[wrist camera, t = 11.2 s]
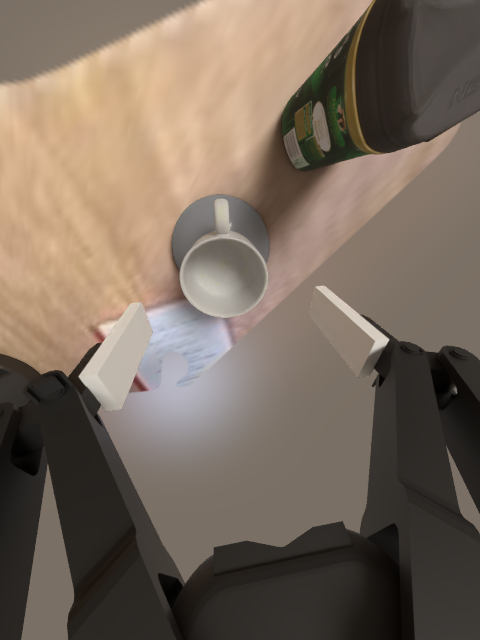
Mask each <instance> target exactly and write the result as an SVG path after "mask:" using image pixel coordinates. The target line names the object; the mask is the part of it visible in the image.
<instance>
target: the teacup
mask: <svg viewBox="0 0 480 640" xmlns="http://www.w3.org/2000/svg"><path fill="white" fill-rule="evenodd" d="M214 217H215V229H216V230H215V231H213V232H210V233H208V234H205V235H204V236H202V237H201V238H200V239H199V240H197V241H196V243H195V244H194V245H193V246H192V248H191V249H190V250H189V251H188V252H187V254H186V255H185V257H184V259H183V261H182V264H181V268H180V285H181V288H182V291H183V293H184V295H185V297H186V298H187V300H188V301H189V302H190V303H191V304H192V305H193V306H194V307H195V308H196V309H198V310H199V311H201V312H203V313H205V314H207V315H210V316H214V317H219V318H232V317H237V316H240V315H243V314H245V313H247V312H248V311H250V310H251V309H253V308H254V307H255V306H256V305H257V304H258V303H259V302H260V301H261V299H262V298H263V296H264V294H265V291H266V289H267V284H268V271H267V266H266V263H265V260H264V259H263V257H262V256H261V254H260V253H259V252H258V250H257V249H256V248H255V246H254V245H253V244H252V243H251V242H250V241H249V240H248V239H247V238H246V237H244V236H243V235H241V234H239V233H237V232H233V231H229V205H228V201H227V200H226V199H216V200H215V201H214Z"/></svg>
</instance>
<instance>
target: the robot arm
mask: <svg viewBox="0 0 480 640" xmlns="http://www.w3.org/2000/svg"><path fill="white" fill-rule="evenodd" d="M309 316H310V318H311V319H312V320H313V321H314V323H315V324H316V325H317V327H318V328H319V329H320V330H321V332H322V333H323V334H324V335H325V337H326V338H327V339H328V340H329V342H330V343H331V344H332V345H333V347H334V348H335V349H336V351H337V352H338V353H339V354H340V356H341V357H342V358H343V359H344V360H345V362H346V363H347V364H348V366H349V367H350V368H351V369H352V371H353V372H354V373H355V374H356V376H357V377H364V376H370V375H371V373H372V371H373V370H374V369H375V370H376V371H377V372H378V373H379V374H378V375H377V377H376V379H375V381H374V383H373V385H372V387H374V386H375V385H376V390H375V403H374V417H373V430H372V443H371V456H370V469H369V484H368V497H367V505H366V509H365V512H364V515H363V517H362V521H361V527H360V534H359V533H357V532H354V531H351V530H348V529H346V528H345V526H344V524H343V521H341V522H336V523H331V524H327V525H321V526H317V527H312V528H311V529H310V530H308V531H307V532H305V533H304V534H302V535H301V536H299V537H298V538H296V539H295V540H294V541H292V542H291V543H289V544H288V545H286V546H285V547H276V546H271V545H266V544H260V543H256V542H250V541H243V542H239V543H233V544H229V545H224V546H219V547H214V554H213V555H212V556H210V557H209V558H208V559H206V561H204V562H203V563H202V564H201V565H200V566H199V567H198V568H197V569H196V570H195V572H194V573H193V574H192V575H191V576H190V578H189V580H188V581H187V582H186V584H185V582H184V580H183V579H182V576H181V574H180V572H179V570H178V568H177V567H176V565H175V563H174V561H173V559H172V558H171V556H170V555H169V553H168V552H167V551H166V549H165V547H164V546H163V544H162V542H161V540H160V538H159V536H158V534H157V532H156V530H155V528H154V526H153V524H152V522H151V520H150V517H149V515H148V514H147V512H146V509H145V507H144V505H143V504H142V501H141V499H140V497H139V495H138V493H137V491H136V489H135V487H134V485H133V483H132V481H131V479H130V477H129V475H128V473H127V471H126V469H125V467H124V465H123V462H122V460H121V458H120V457H119V454H118V452H117V450H116V448H115V446H114V444H113V442H112V440H111V438H110V436H109V434H108V432H107V430H106V428H105V426H104V424H103V422H102V420H101V418H100V416H99V415H98V414H97V412H98V410H99V408H100V406H102V407H103V409H104V410H105V411H106V412H108V411H116V410H121V409H122V407H123V404H124V402H125V399H126V397H127V395H128V392H129V390H130V387H131V385H132V382H133V380H134V377H135V375H136V373H137V370H138V368H139V365H140V363H141V360H142V358H143V355H144V353H145V350H146V348H147V346H148V343H149V341H150V338H151V336H152V333H153V331H152V328H151V326H150V323H149V320H148V318H147V315H146V312H145V310H144V307H143V304H142V302H139V303H131V304H130V305H129V306H128V308H127V309H126V311H125V312H124V313H123V315H122V316H121V318H120V319H119V320H118V322H117V323H116V325H115V326H114V327H113V329H112V330H111V332H110V333H109V334H108V336H107V337H106V339H105V340H104V342H103V343H97V344H96V345H95V346H93V347H92V348H91V349H89V351H88V352H87V353H86V355H85V356H84V358H82V360H81V361H80V363H79V364H78V365H77V366H76V368H75V369H74V370H73V372H72V373H71V374H70V375H69V377H67V376H66V375H65V374H64V373H63V372H62V371H59V370H55V371H49V372H47V373H44V374H42V375H40V374H39V373H38V372H37V371H36V370H34V369H33V368H32V367H30V366H28V365H27V364H25V363H23V362H21V361H19V360H16V359H14V358H11V357H8V356H5V355H1V354H0V640H21V637H22V630H23V623H24V617H25V610H26V603H27V597H28V590H29V584H30V576H31V569H32V564H33V557H34V550H35V544H36V537H37V530H38V523H39V517H40V510H41V504H42V498H43V491H44V483H45V478H46V471H47V465H49V470H50V475H51V480H52V485H53V490H54V495H55V499H56V504H57V509H58V514H59V519H60V524H61V529H62V533H63V539H64V543H65V548H66V553H67V558H68V563H69V568H70V573H71V578H72V582H73V587H74V603H73V605H72V607H71V609H70V612H69V615H68V623H67V630H68V640H480V534H479V532H478V530H477V529H476V528H475V526H474V525H473V524H472V523H470V522H469V521H468V520H466V519H465V518H464V517H463V516H462V514H461V513H460V509H459V506H458V501H457V496H456V491H455V486H454V482H453V477H452V472H451V467H450V463H449V458H448V453H447V448H448V449H449V452H450V454H451V456H452V458H453V460H454V462H455V464H456V466H457V468H458V470H459V472H460V474H461V476H462V478H463V480H464V483H465V484H466V486H467V489H468V491H469V493H470V495H471V497H472V499H473V501H474V503H475V505H476V507H477V509H478V511H479V513H480V360H479V359H478V358H477V357H476V356H474V355H473V354H472V353H470V352H468V351H467V350H465V349H462V348H459V347H454V346H444V347H442V349H441V350H440V351H439V353H435V352H426V351H424V350H423V349H422V348H421V347H419V346H417V345H415V344H413V343H410V342H404V341H401V342H399V341H398V340H397V339H395V338H394V337H393V336H392V335H390V334H389V333H388V332H386V331H385V330H384V329H383V328H381V327H380V326H379V325H378V324H376V323H375V322H374V321H373V320H371V319H370V318H368V317H366V316H364V315H359V314H358V313H357V312H356V311H354V310H353V309H352V308H351V307H349V306H348V305H347V304H346V303H345V302H343V301H342V300H341V299H340V298H339V297H337V296H336V295H335V294H334V293H333V292H331V291H330V290H329V289H328V288H326V287H325V286H316V287H315V289H314V294H313V299H312V304H311V309H310V314H309ZM455 387H456V388H457V394H456V393H455V391H454V390H453V389H454V388H455ZM446 446H447V448H446Z"/></svg>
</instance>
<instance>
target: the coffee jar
mask: <svg viewBox="0 0 480 640" xmlns="http://www.w3.org/2000/svg"><path fill="white" fill-rule="evenodd" d="M478 111H480V0H373V1H372V3H371V4H370V6H369V7H368V8H367V10H366V11H365V12H364V14H363V15H362V16H361V17H360V18H359V20H358V21H357V22H356V23H355V25H354V26H353V27H352V28H351V29H350V30H349V32H348V33H347V34H346V35H345V36H344V37H343V38H342V40H341V41H340V42H339V43H338V44H337V46H336V47H335V48H334V49H333V50H332V51H331V53H330V54H329V55H328V56H327V57H326V58H325V60H324V61H323V62H322V63H321V64H320V65H319V67H318V68H317V69H316V70H315V71H314V72H313V73H312V75H311V76H310V77H309V78H308V79H307V80H306V81H305V82H304V84H303V85H302V86H301V87H300V88H299V89H298V90H297V91H296V93H295V94H294V95H293V96H292V97H291V98H290V100H289V101H288V103H287V105H286V107H285V109H284V112H283V116H282V134H283V140H284V144H285V148H286V151H287V154H288V156H289V159H290V161H291V163H292V164H293V166H294V167H295V168H297V169H298V170H301V171H309V170H313V169H317V168H320V167H324V166H327V165H331V164H334V163H338V162H341V161H345V160H349V159H353V158H356V157H360V156H364V155H368V154H385V153H391V152H395V151H398V150H401V149H404V148H407V147H409V146H412V145H416V144H419V143H422V142H429V141H430V140H432V139H434V138H435V137H437V136H438V135H440V134H442V133H443V132H445V131H447V130H448V129H450V128H452V127H453V126H455V125H457V124H458V123H460V122H461V121H463V120H465V119H466V118H468V117H470V116H471V115H473V114H475V113H476V112H478Z"/></svg>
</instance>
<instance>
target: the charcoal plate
mask: <svg viewBox="0 0 480 640" xmlns="http://www.w3.org/2000/svg"><path fill="white" fill-rule="evenodd" d="M216 199H226V200H227V201H228V205H229V231H233V232H237V233H239V234H241V235H243V236H244V237H246V238H247V239H248V240H249V241H250V242H251V243H252V244H253V245H254V246H255V248H256V249H257V250H258V252H259V253H260V254H261V256H262V257H263V259H264V260H265V263H266V264H267V261H268V257H269V249H270V243H269V236H268V232H267V229H266V226H265V224H264V222H263V220H262V218H261V217H260V215H259V214H258V213H257V211H256V210H255V209H253V208H252V207H251V206H250V205H249V204H247V203H246V202H244V201H243V200H241V199H239V198H236V197H233V196H229V195H219V194H217V195H210V196H206V197H203V198H201V199H199V200H197V201H195V202H194V203H192V204H191V205H190V206H189V207H188V208H187V209H185V211H184V212H183V213H182V214H181V216H180V217H179V219H178V221H177V223H176V226H175V228H174V232H173V238H172V250H173V256H174V259H175V262H176V265H177V267H178V269H179V271H180V268H181V264H182V261H183V259H184V257H185V255H186V254H187V252H188V251H189V250H190V249H191V248H192V246H193V245H194V244H195V243H196V241H197V240H199V239H200V238H201V237H202V236H204V235H205V234H208V233H210V232H213V231H215V230H216V229H215V217H214V201H215V200H216Z"/></svg>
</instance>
